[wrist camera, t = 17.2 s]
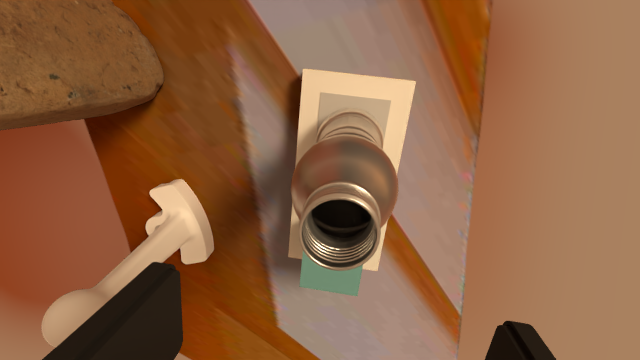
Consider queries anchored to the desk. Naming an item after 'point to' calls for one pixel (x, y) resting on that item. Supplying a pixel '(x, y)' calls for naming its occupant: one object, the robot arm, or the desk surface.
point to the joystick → (139, 258)
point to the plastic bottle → (344, 191)
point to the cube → (329, 278)
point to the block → (71, 62)
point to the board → (355, 92)
